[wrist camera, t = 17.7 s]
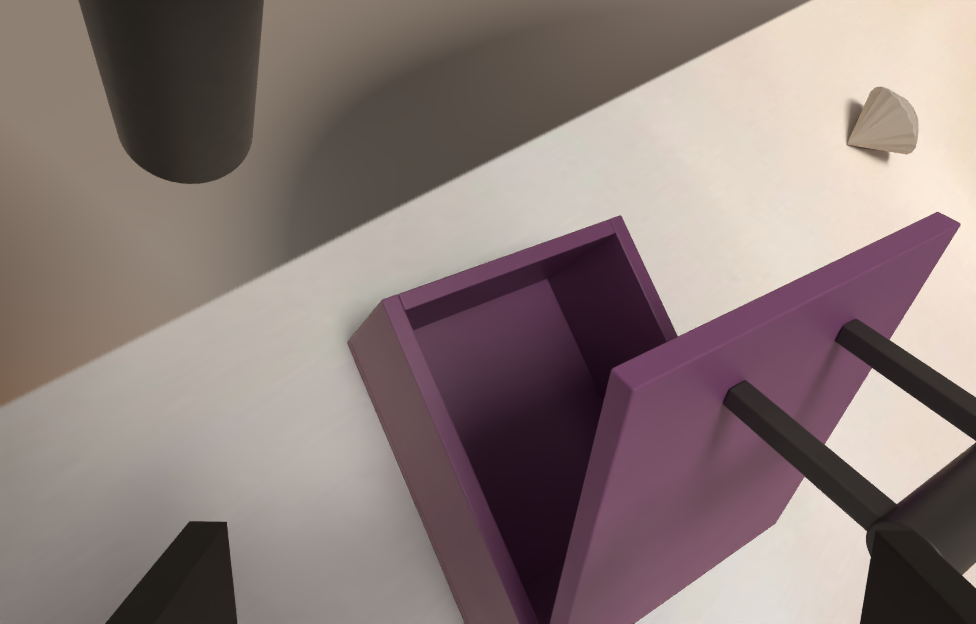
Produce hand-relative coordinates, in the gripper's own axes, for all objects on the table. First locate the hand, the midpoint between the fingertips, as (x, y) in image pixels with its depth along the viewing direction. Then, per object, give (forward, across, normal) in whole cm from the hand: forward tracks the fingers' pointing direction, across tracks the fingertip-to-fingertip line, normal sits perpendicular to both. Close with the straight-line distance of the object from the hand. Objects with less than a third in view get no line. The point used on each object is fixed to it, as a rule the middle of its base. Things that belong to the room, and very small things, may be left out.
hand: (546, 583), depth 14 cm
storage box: (+24, 0, -8) cm, 25 cm away
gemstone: (+48, +30, +9) cm, 57 cm away
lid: (+10, +7, -2) cm, 12 cm away
